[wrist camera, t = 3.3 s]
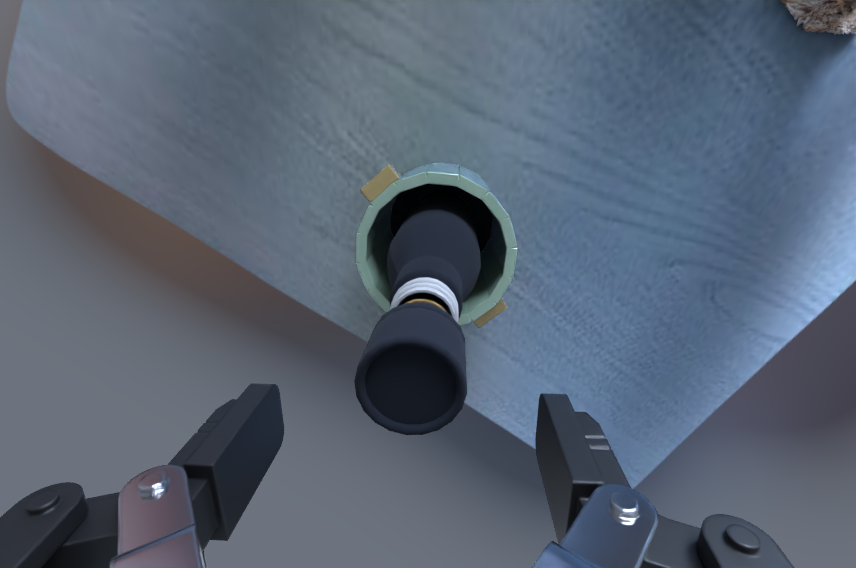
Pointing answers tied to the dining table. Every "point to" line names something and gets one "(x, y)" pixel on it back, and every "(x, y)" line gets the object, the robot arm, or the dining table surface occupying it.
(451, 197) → the wine bottle
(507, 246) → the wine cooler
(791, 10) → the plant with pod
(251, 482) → the robot arm
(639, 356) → the dining table surface
